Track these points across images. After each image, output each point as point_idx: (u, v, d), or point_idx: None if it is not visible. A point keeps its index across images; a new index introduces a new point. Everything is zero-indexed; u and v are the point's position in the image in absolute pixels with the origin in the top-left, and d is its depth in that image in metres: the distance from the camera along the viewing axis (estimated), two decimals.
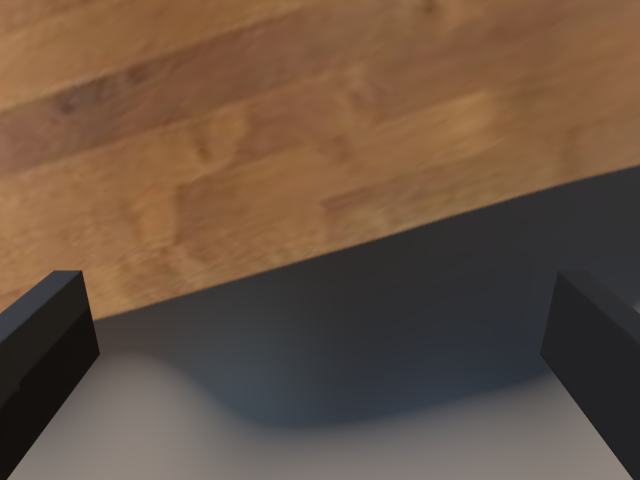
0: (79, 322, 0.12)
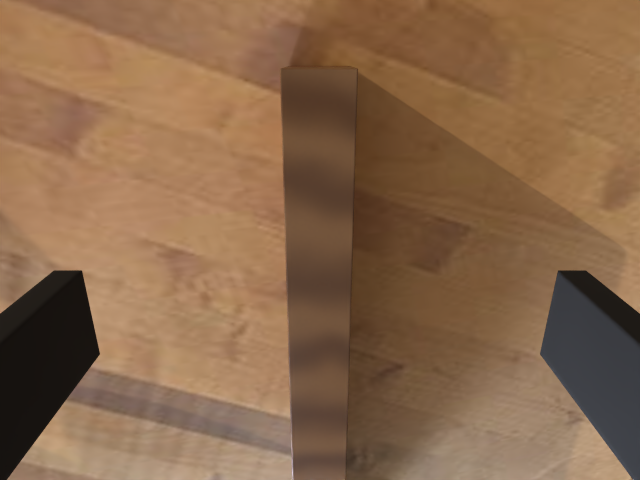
0: (79, 322, 0.12)
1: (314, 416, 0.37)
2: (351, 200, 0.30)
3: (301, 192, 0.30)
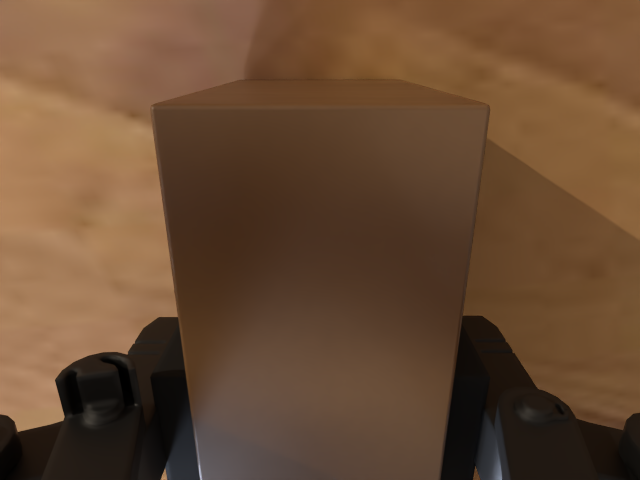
0: None
1: None
2: None
3: None
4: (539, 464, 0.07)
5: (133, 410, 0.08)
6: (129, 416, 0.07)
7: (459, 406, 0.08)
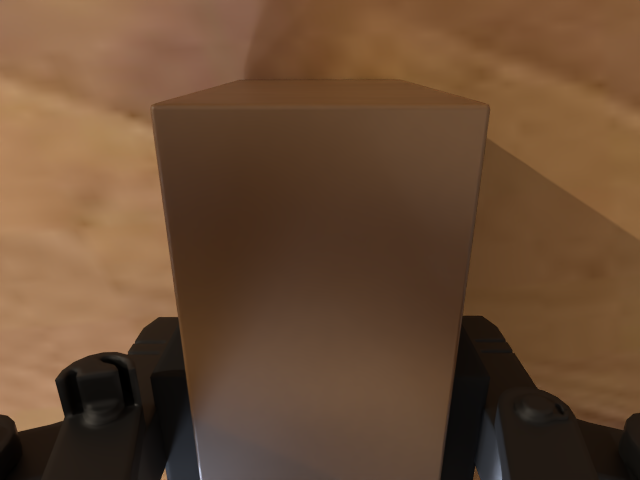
0: None
1: None
2: None
3: None
4: (539, 464, 0.07)
5: (133, 410, 0.08)
6: (129, 416, 0.07)
7: (459, 406, 0.08)
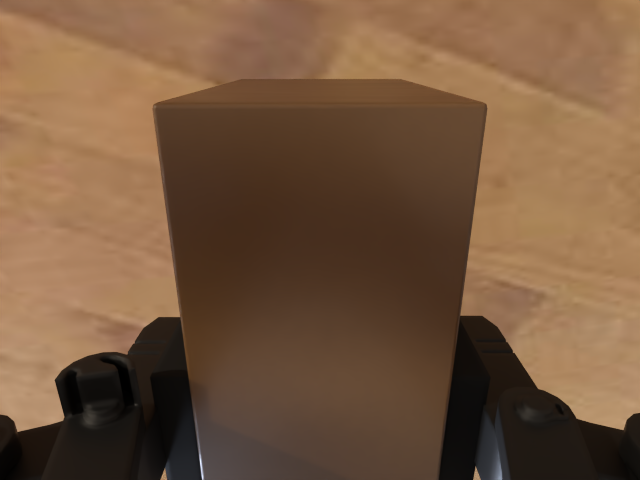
0: None
1: None
2: None
3: None
4: (539, 464, 0.07)
5: (133, 410, 0.08)
6: (129, 416, 0.07)
7: (459, 406, 0.08)
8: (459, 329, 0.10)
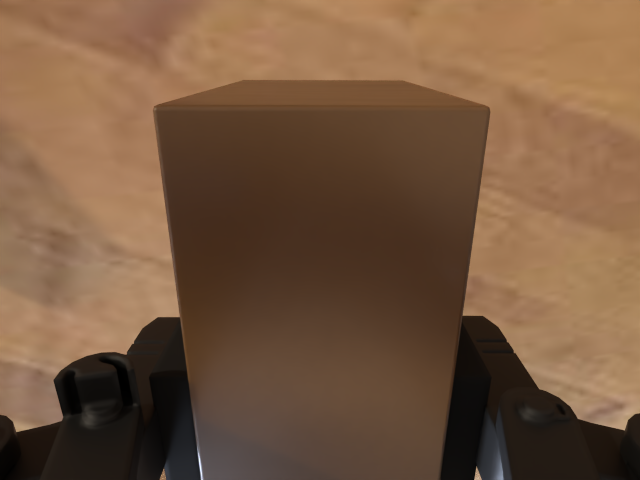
0: None
1: None
2: None
3: None
4: (540, 464, 0.07)
5: (132, 410, 0.08)
6: (128, 416, 0.07)
7: (460, 406, 0.08)
8: None
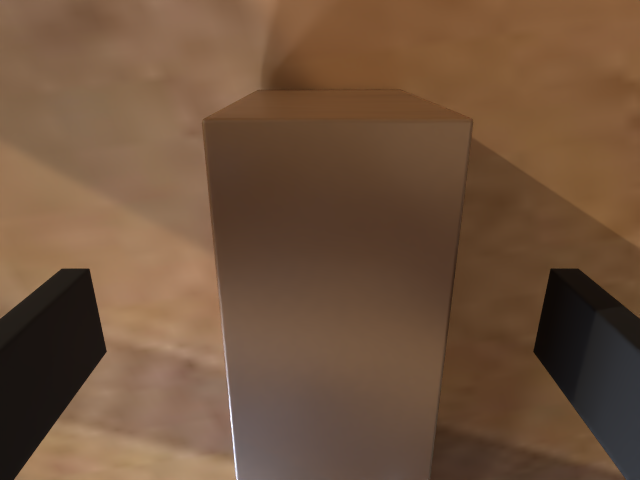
0: (87, 320, 0.12)
1: None
2: (424, 474, 0.11)
3: (282, 456, 0.11)
4: None
5: None
6: None
7: None
8: None
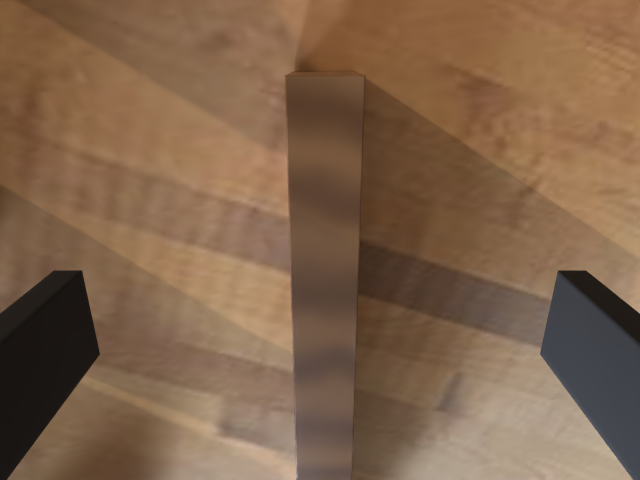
0: (79, 322, 0.12)
1: (318, 429, 0.36)
2: (358, 210, 0.29)
3: (306, 201, 0.29)
4: None
5: None
6: None
7: None
8: None
